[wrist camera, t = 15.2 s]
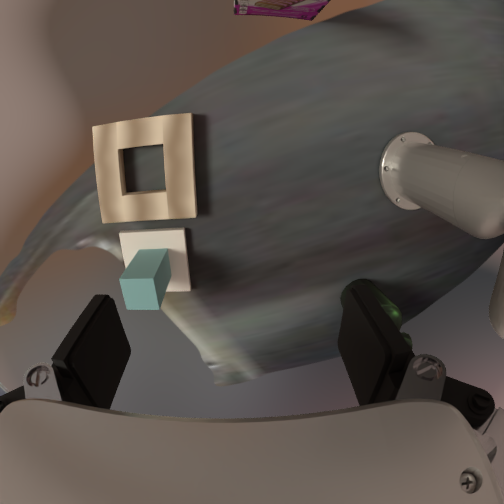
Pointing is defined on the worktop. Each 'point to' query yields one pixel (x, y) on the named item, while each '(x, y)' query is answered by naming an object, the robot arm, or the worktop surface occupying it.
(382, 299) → the potion bottle
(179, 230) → the tile
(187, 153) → the pocket base
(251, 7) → the candy bar box
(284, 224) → the worktop surface
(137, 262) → the teal block
